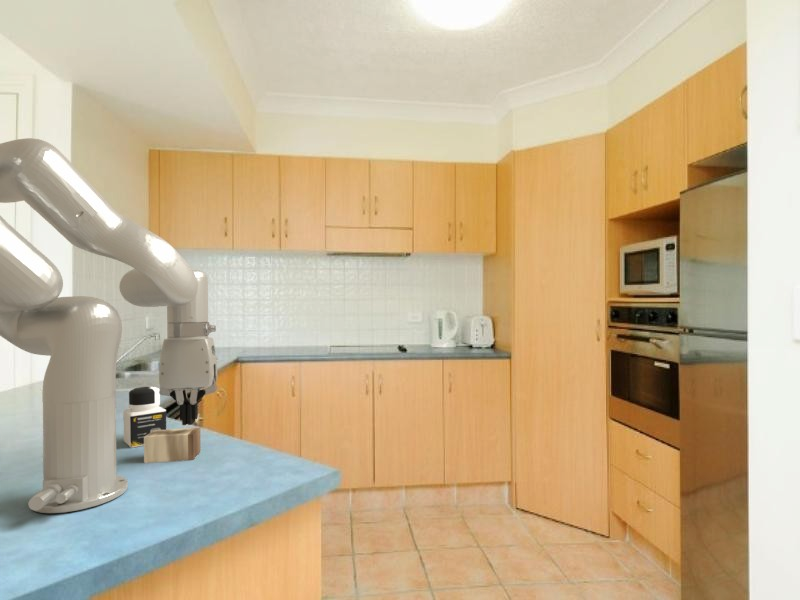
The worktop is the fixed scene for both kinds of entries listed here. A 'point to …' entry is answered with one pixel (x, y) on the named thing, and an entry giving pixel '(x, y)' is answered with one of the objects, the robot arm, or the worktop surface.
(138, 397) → the medicine bottle
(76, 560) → the worktop surface
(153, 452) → the birch block
